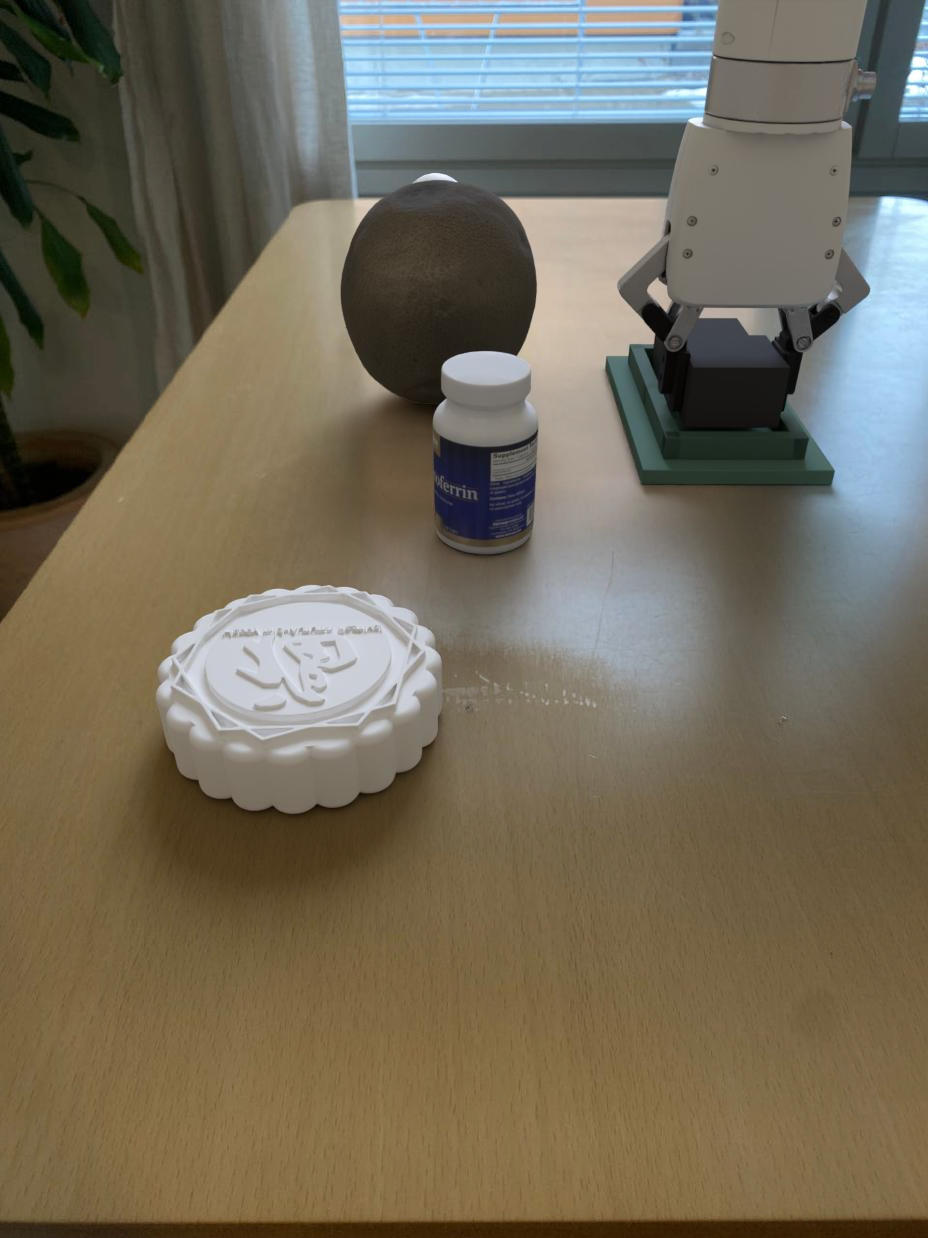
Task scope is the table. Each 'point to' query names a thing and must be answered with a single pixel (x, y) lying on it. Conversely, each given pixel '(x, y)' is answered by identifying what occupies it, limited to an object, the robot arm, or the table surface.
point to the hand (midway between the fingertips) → (722, 401)
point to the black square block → (701, 328)
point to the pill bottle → (485, 453)
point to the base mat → (706, 438)
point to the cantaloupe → (436, 284)
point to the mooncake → (300, 697)
